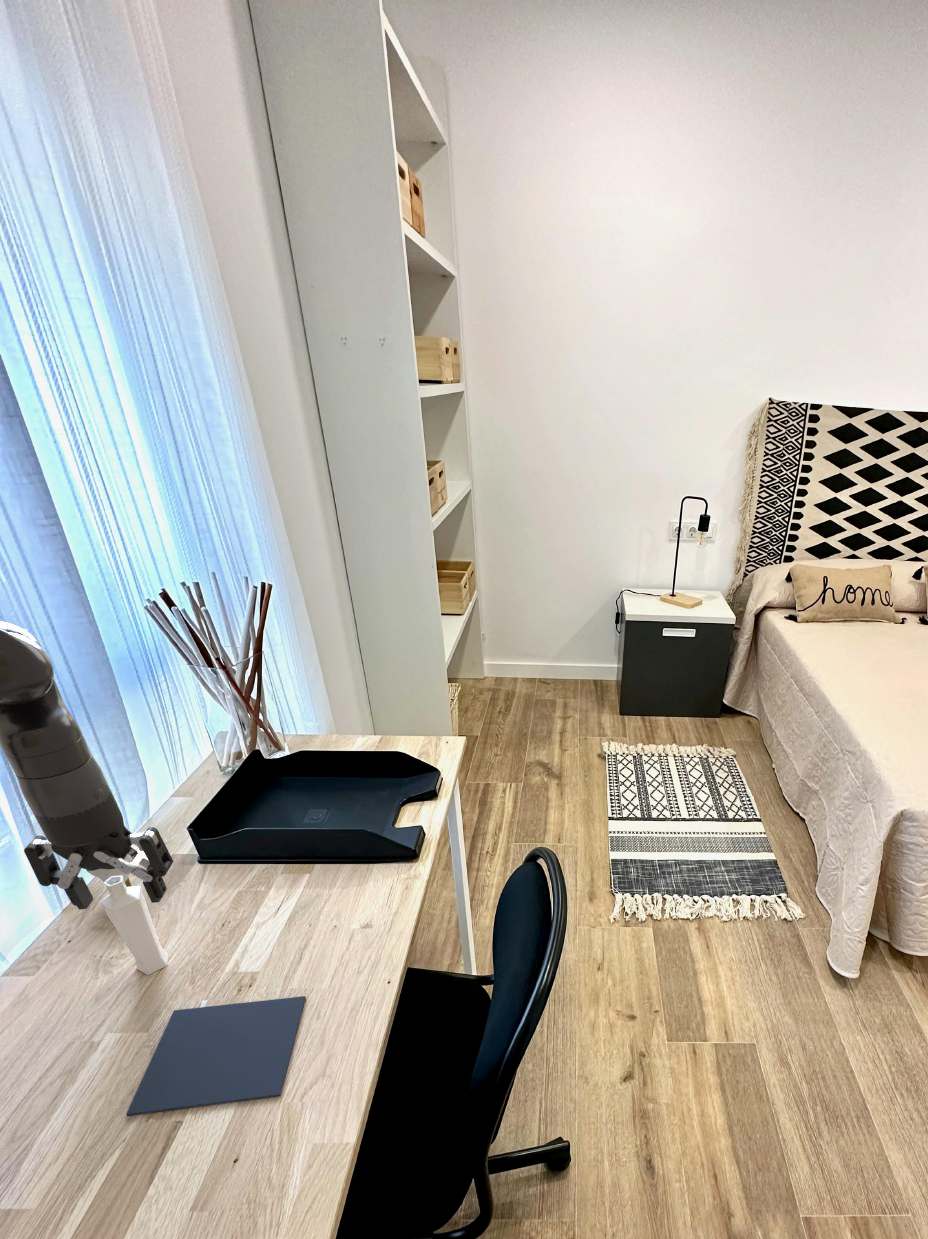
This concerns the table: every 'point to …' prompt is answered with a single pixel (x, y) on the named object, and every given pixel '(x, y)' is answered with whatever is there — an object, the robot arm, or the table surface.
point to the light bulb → (112, 873)
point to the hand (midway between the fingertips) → (122, 901)
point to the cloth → (220, 1056)
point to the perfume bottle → (134, 924)
